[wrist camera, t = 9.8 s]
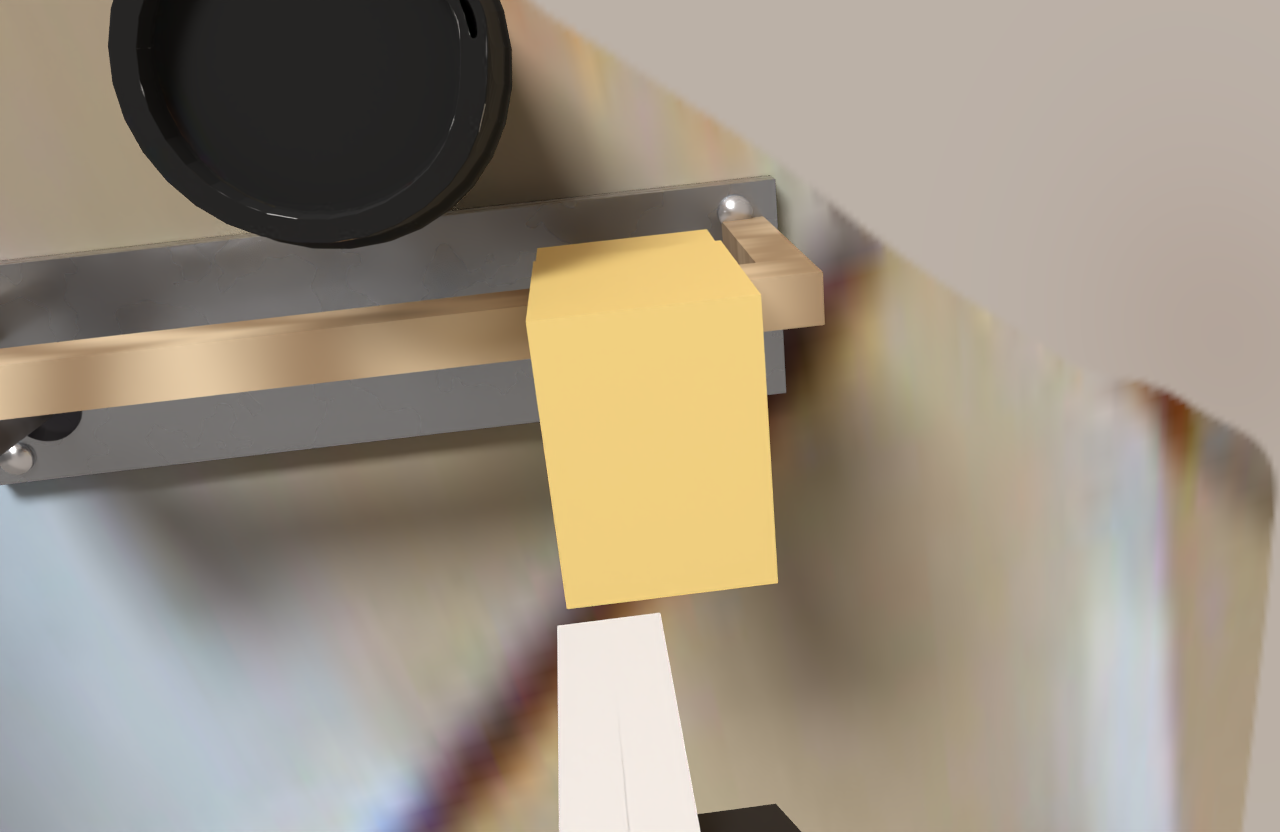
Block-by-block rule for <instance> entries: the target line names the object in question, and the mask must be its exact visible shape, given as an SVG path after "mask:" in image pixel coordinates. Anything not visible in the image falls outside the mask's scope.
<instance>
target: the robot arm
mask: <svg viewBox="0 0 1280 832" xmlns="http://www.w3.org/2000/svg"><path fill="white" fill-rule="evenodd" d="M557 637H558V759H559V832H801V831H800V830H799V829H798V828H797V827H796V825H795V824H794V823H793V822H792V821H791V820H790V819H789V818H788V817H787V816H786V815H785V813H784V812H783V811H782V810H781V809H780V808H779V807H778V806H777V805H776V804H771V805H763V806H756V807H749V808H741V809H734V810H726V811H719V812H712V813H704V814H697V810H696V804H695V799H694V794H693V788H692V783H691V777H690V772H689V766H688V761H687V756H686V750H685V745H684V739H683V734H682V728H681V723H680V718H679V712H678V707H677V701H676V696H675V690H674V685H673V679H672V674H671V669H670V663H669V658H668V652H667V647H666V641H665V636H664V631H663V625H662V620H661V614H660V613H655V614H647V615H639V616H631V617H623V618H615V619H607V620H600V621H592V622H584V623H576V624H568V625H560V626H557Z"/></svg>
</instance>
